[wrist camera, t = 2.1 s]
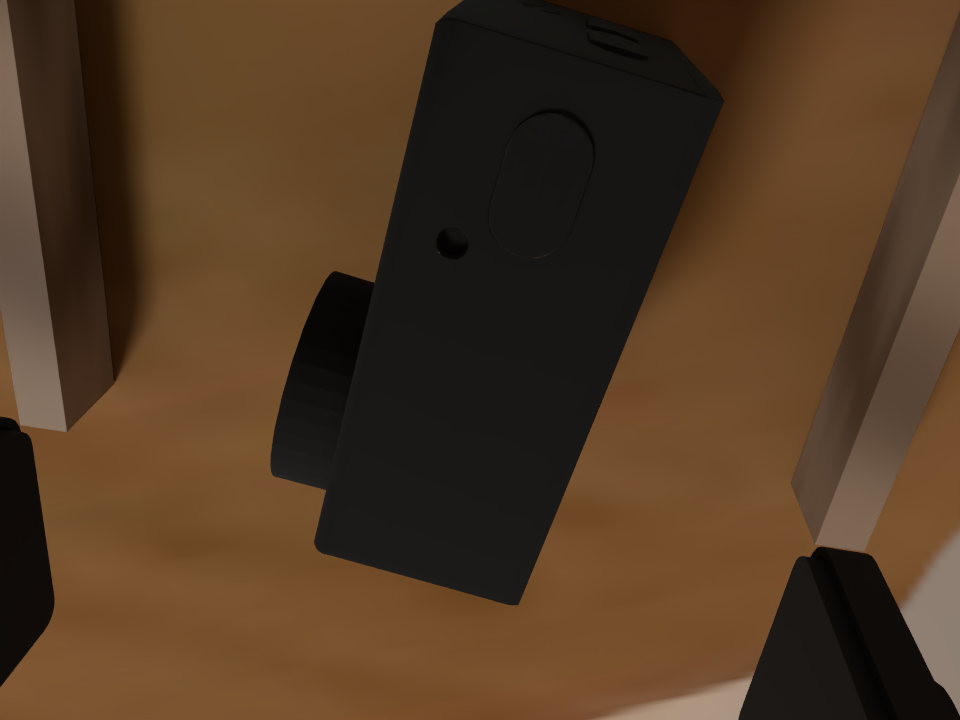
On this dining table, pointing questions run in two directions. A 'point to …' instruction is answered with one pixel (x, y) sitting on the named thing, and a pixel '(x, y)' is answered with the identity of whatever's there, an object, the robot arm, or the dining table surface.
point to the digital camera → (493, 293)
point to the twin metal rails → (84, 325)
